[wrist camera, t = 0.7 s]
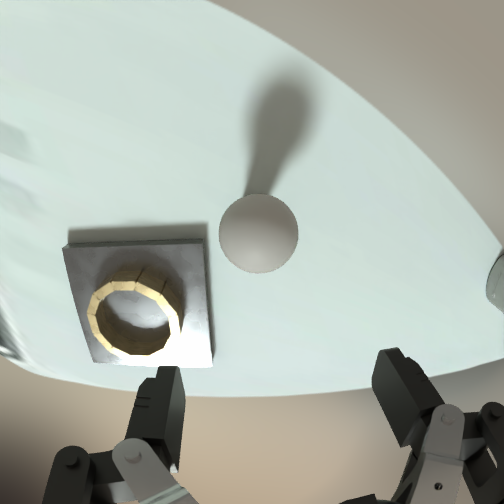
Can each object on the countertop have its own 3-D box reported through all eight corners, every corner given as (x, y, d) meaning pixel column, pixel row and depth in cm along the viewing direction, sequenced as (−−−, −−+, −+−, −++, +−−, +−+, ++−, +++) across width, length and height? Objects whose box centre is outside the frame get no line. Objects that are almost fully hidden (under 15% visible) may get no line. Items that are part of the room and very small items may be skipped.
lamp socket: (203, 238, 33) (200, 253, 29) (212, 359, 38) (211, 380, 35) (67, 243, 32) (51, 256, 28) (97, 355, 38) (87, 374, 34)
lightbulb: (278, 175, 31) (302, 197, 21) (284, 233, 33) (309, 280, 23) (216, 184, 31) (210, 210, 21) (226, 242, 33) (225, 293, 23)
